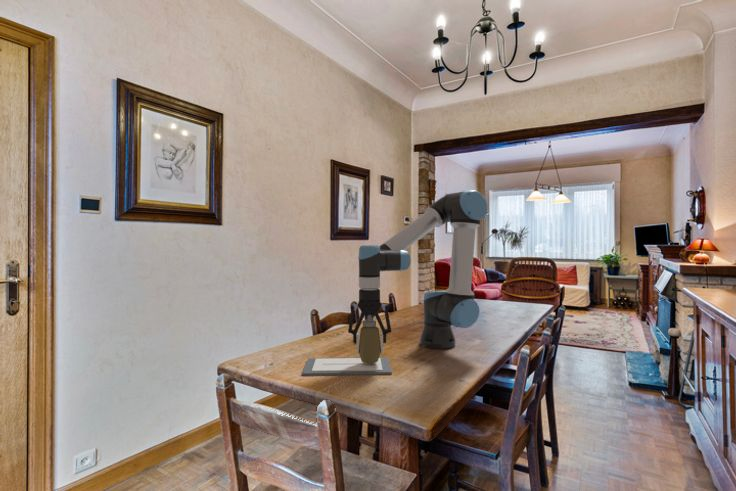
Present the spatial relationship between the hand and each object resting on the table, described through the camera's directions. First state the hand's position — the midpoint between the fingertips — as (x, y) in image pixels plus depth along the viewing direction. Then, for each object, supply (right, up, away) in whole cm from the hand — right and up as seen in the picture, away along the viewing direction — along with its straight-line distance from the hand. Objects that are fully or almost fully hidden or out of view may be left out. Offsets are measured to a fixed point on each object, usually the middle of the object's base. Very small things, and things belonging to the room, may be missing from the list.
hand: (369, 352), depth 137 cm
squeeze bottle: (0, -3, 0) cm, 3 cm away
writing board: (-8, -5, 0) cm, 9 cm away
